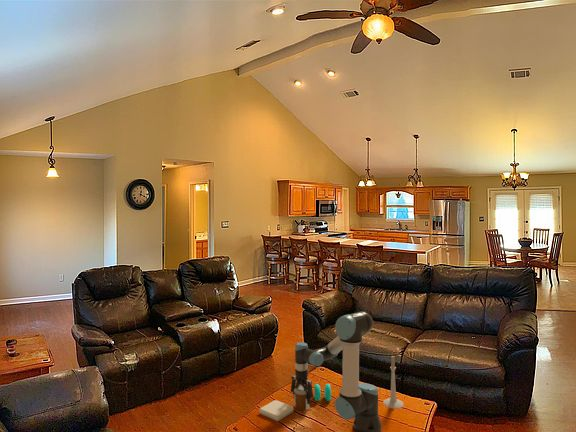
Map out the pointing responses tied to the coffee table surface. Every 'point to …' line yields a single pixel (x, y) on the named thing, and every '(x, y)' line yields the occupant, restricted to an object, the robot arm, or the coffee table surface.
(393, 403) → the candlestick
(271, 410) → the plinth
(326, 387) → the teal wheels on axle
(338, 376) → the coffee table surface
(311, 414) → the coffee table surface
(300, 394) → the disposable coffee cup
